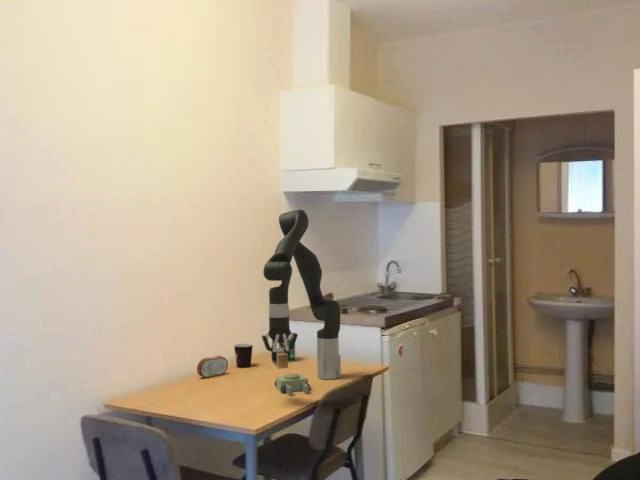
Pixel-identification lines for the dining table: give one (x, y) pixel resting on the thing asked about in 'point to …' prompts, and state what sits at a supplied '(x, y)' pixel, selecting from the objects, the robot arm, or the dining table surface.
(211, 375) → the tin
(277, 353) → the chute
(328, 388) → the dining table surface
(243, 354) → the coffee mug
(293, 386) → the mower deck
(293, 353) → the canned tomato
